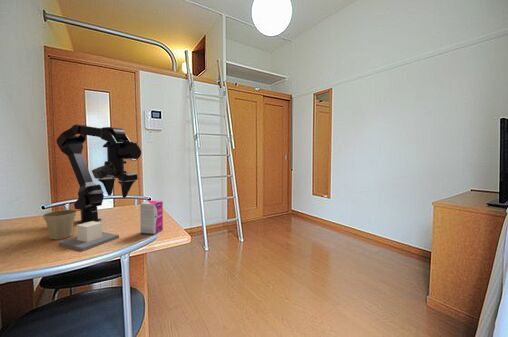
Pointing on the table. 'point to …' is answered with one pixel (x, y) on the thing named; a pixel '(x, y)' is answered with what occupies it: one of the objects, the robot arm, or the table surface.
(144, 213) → the supplement box
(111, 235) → the gray mat
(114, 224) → the table surface
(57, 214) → the flower pot
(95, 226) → the off-white cube
